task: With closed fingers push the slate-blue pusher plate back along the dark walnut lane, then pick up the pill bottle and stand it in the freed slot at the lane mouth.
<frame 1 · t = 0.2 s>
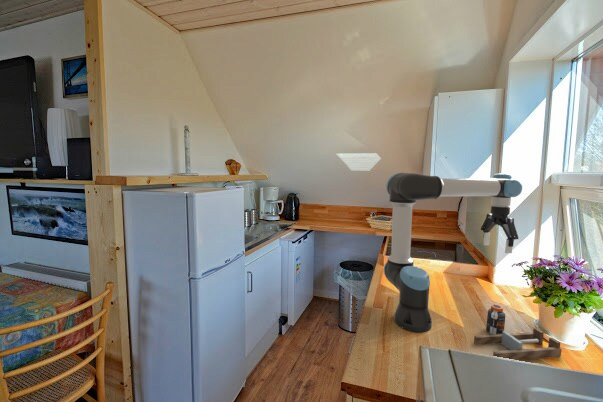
hand: (496, 248, 136), 28 cm above the kitchen counter, fingers open, 13 cm apart
pill bottle: (494, 332, 114), on the kitchen counter
lane: (515, 349, 103), on the kitchen counter
pusher: (523, 342, 103), point 3 cm above the kitchen counter, slide at 0.0 cm
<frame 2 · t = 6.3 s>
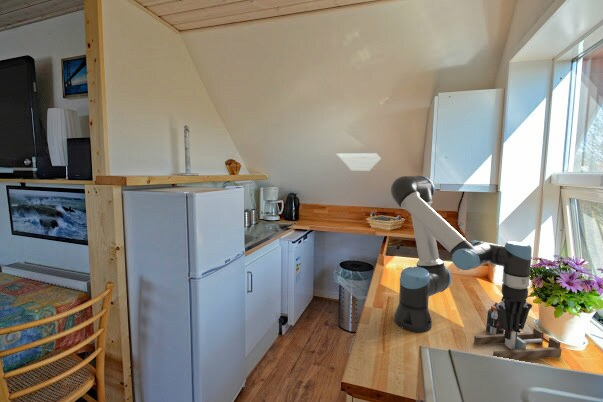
hand: (509, 346, 103), 2 cm above the kitchen counter, fingers closed
pusher: (527, 342, 104), point 3 cm above the kitchen counter, slide at 1.6 cm, touching gripper
everything else where it was.
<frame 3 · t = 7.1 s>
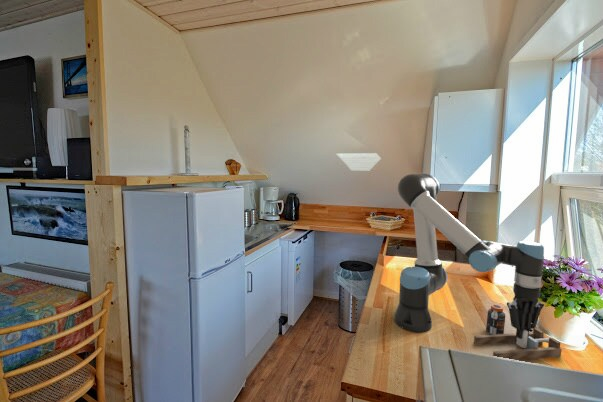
hand: (521, 345, 103), 2 cm above the kitchen counter, fingers closed
pusher: (539, 341, 104), point 3 cm above the kitchen counter, slide at 6.3 cm, touching gripper
everything else where it was.
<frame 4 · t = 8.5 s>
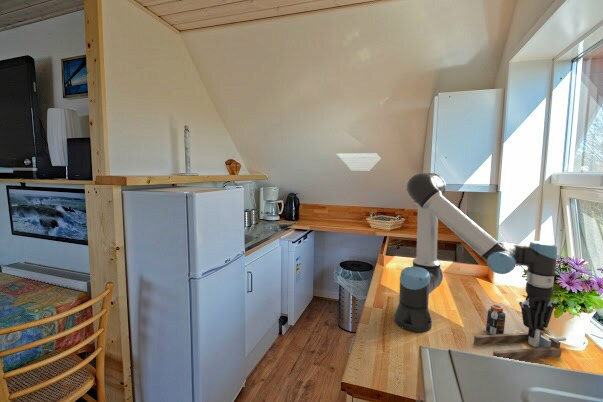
hand: (533, 344, 104), 1 cm above the kitchen counter, fingers closed
pusher: (551, 340, 105), point 3 cm above the kitchen counter, slide at 11.4 cm, touching gripper
everything else where it was.
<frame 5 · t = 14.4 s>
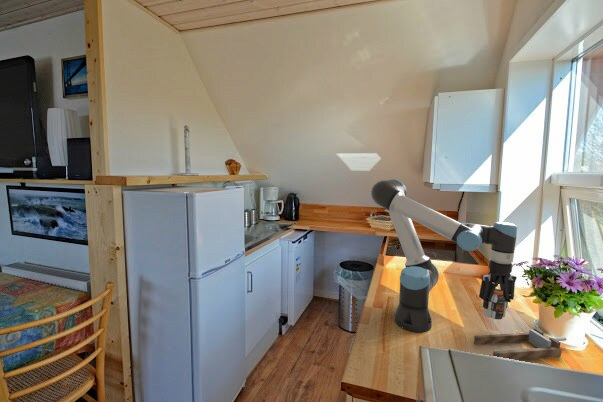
hand: (493, 315, 114), 7 cm above the kitchen counter, fingers closed on pill bottle, 6 cm apart
pill bottle: (493, 316, 114), point 7 cm above the kitchen counter, touching gripper
pusher: (551, 340, 105), point 3 cm above the kitchen counter, slide at 11.5 cm
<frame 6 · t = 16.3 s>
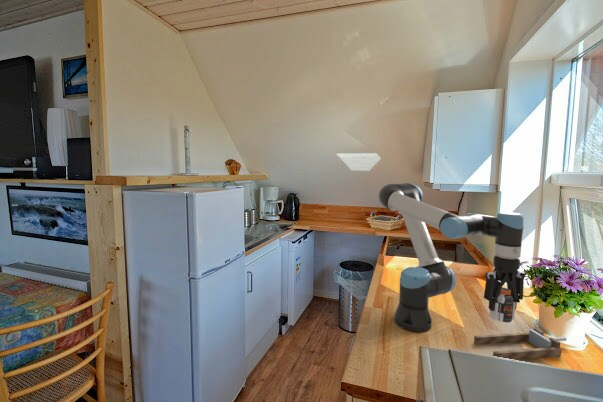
hand: (501, 317, 101), 13 cm above the kitchen counter, fingers closed on pill bottle, 6 cm apart
pill bottle: (501, 319, 101), point 12 cm above the kitchen counter, touching gripper
everything else where it was.
when the fingers open (1 cm above the kitchen counter, at t = 18.5 s): pill bottle drops 1 cm, resting in lane.
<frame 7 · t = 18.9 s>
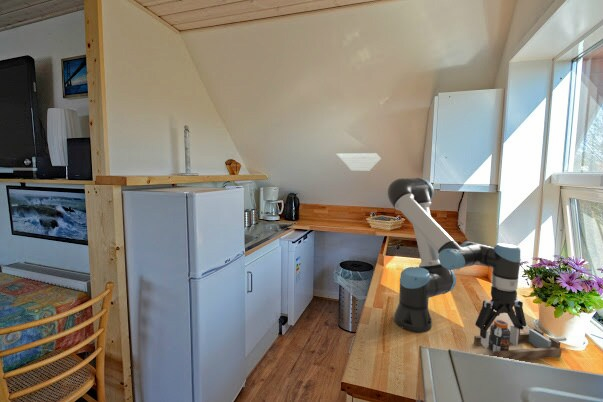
hand: (498, 344, 102), 2 cm above the kitchen counter, fingers open, 11 cm apart
pill bottle: (498, 351, 103), resting in lane
everything else where it was.
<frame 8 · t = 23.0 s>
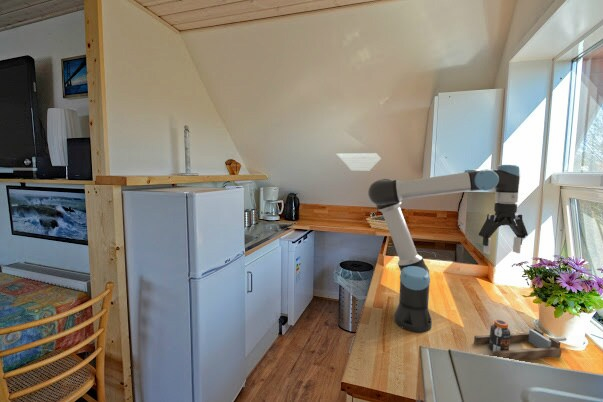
hand: (501, 253, 117), 32 cm above the kitchen counter, fingers open, 13 cm apart
nothing on the kitchen counter moved.
at the end: pill bottle inside the target area on the lane (0.5 cm from its centre), point 0.0 cm above the lane's base; pill bottle tilted 0°; pusher slide at 11.5 cm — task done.
